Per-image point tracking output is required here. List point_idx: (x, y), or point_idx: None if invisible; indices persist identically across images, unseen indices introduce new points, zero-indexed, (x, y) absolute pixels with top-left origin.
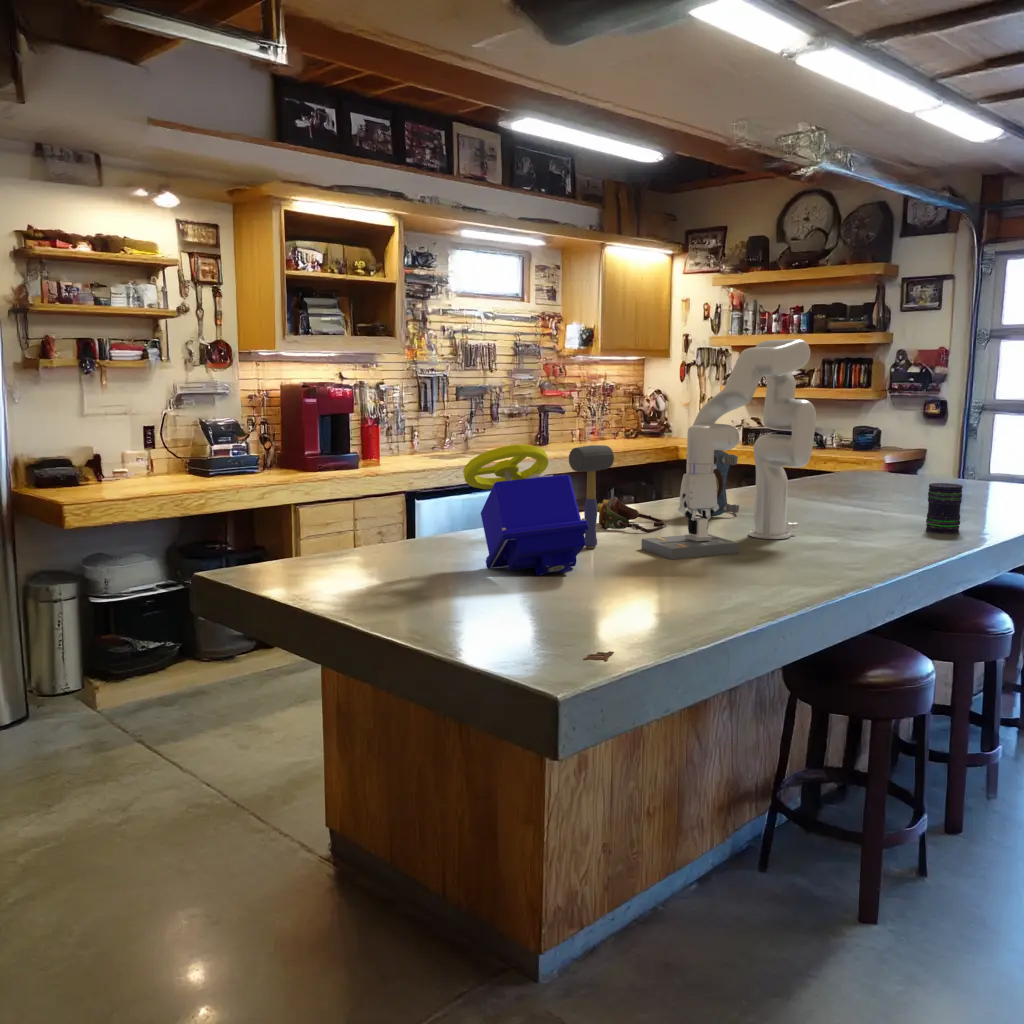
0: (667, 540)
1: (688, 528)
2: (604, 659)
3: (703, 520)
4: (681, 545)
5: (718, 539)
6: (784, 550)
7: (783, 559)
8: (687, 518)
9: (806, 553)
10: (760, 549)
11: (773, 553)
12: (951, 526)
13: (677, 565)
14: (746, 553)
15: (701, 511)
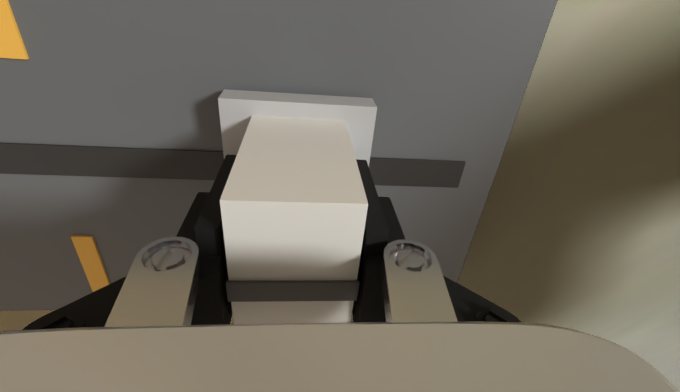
0: (37, 82)
1: (197, 200)
2: None
3: None
4: (88, 272)
5: (433, 207)
6: (631, 287)
7: None
8: (149, 261)
9: (625, 341)
10: (584, 242)
11: (542, 310)
12: None
13: None
14: (458, 279)
15: (389, 309)
